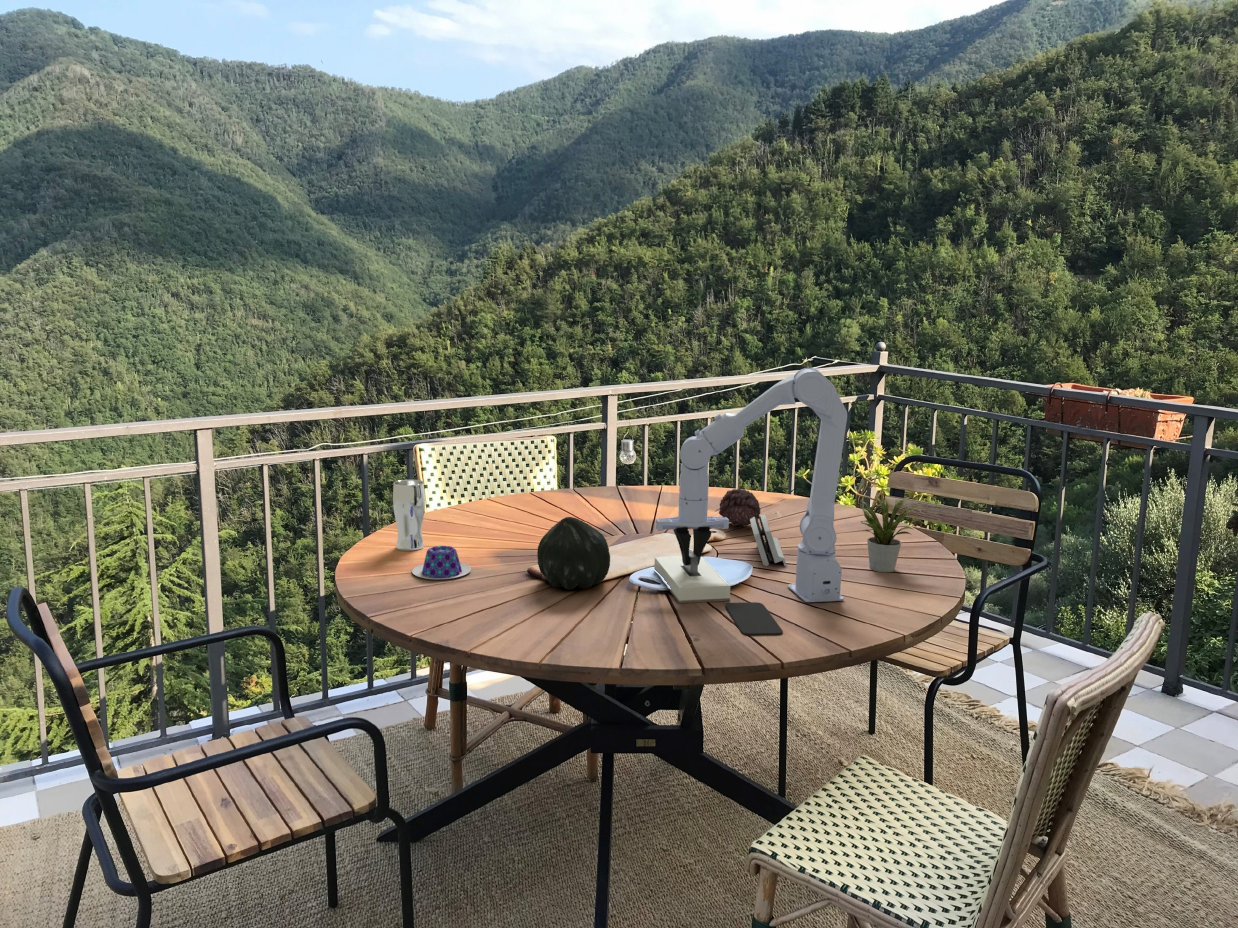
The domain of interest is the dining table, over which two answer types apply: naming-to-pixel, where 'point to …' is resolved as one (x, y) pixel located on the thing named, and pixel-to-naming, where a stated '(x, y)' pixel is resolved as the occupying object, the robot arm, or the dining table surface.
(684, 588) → the post foot
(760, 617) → the phone
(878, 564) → the house plant
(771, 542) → the grey and black device
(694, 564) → the metal block
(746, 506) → the pine cone
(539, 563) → the squash
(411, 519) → the beer glass
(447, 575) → the pudding
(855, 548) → the dining table surface
